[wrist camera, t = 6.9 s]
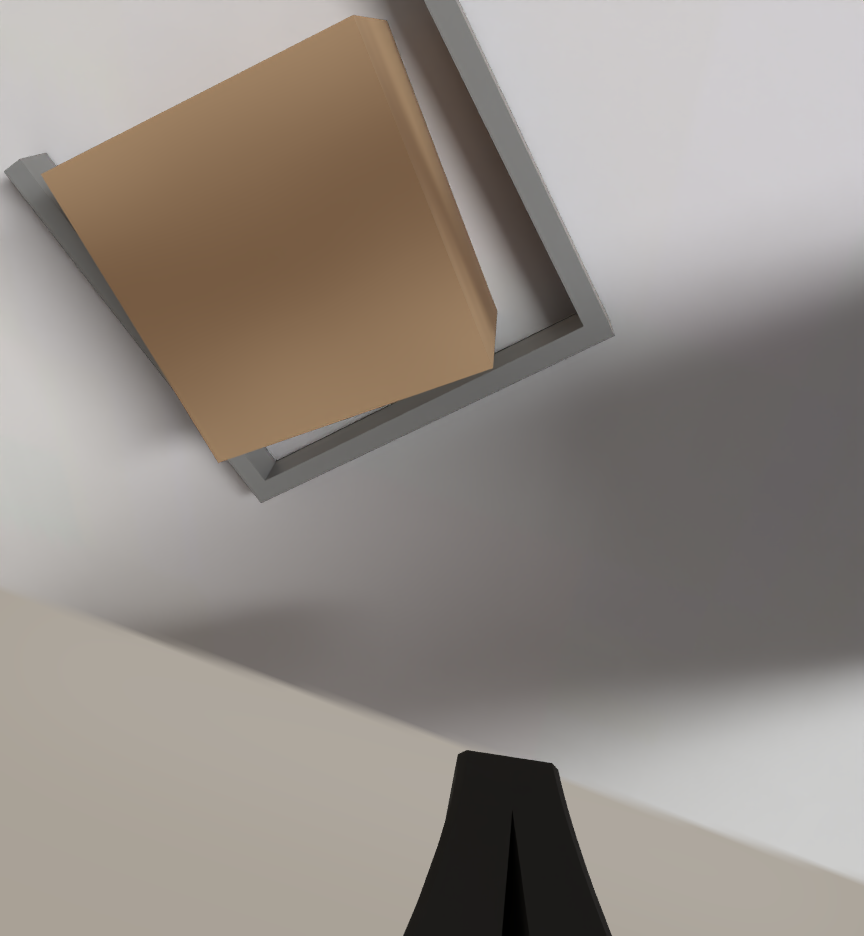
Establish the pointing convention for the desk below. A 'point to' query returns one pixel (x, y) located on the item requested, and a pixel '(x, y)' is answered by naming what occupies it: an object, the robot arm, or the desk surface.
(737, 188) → the desk surface
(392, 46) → the plug
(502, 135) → the socket
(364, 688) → the desk surface
